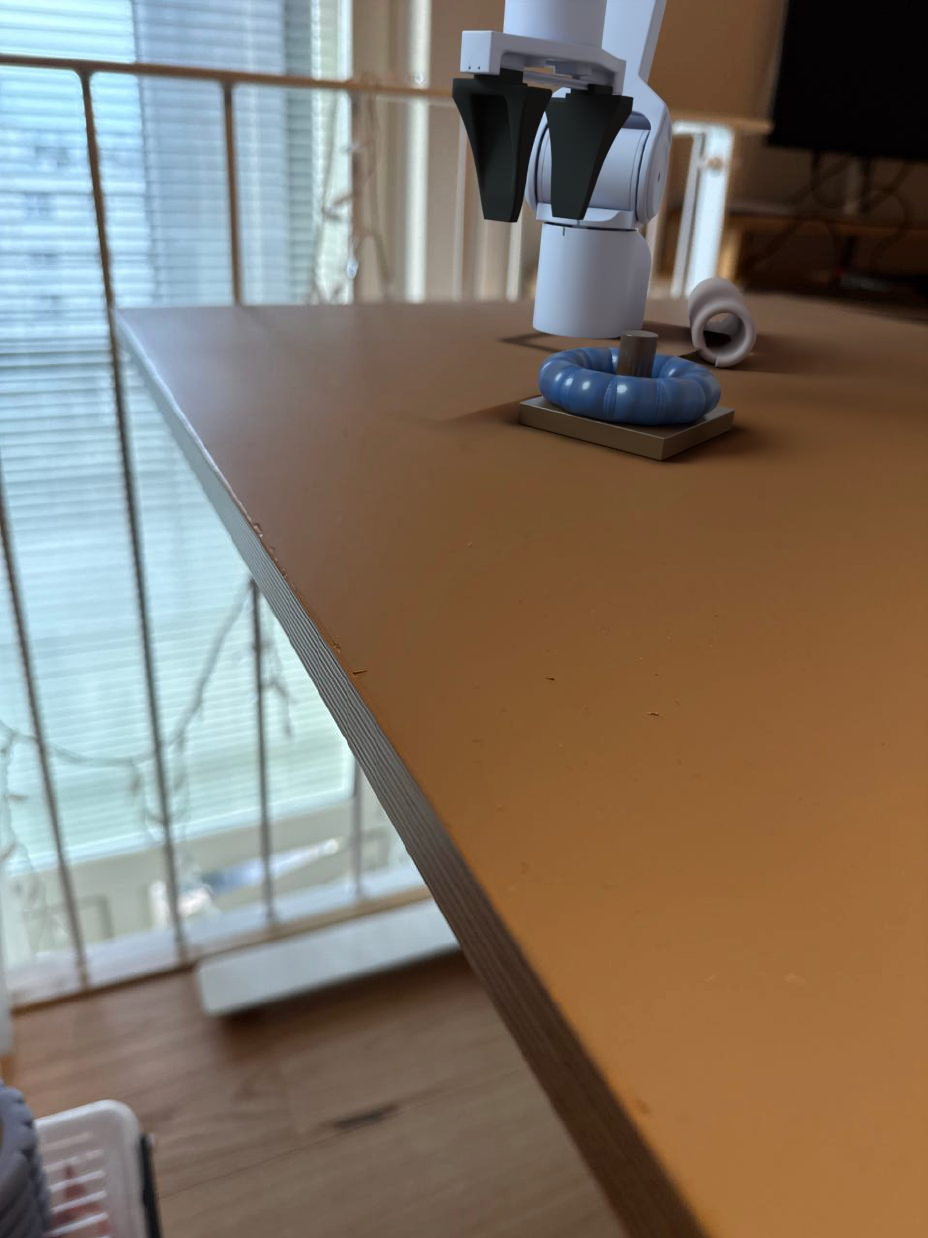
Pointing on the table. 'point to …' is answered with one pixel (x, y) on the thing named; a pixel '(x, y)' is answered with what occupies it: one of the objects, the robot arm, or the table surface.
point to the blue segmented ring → (628, 388)
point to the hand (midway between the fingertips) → (535, 219)
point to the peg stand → (624, 436)
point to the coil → (739, 323)
